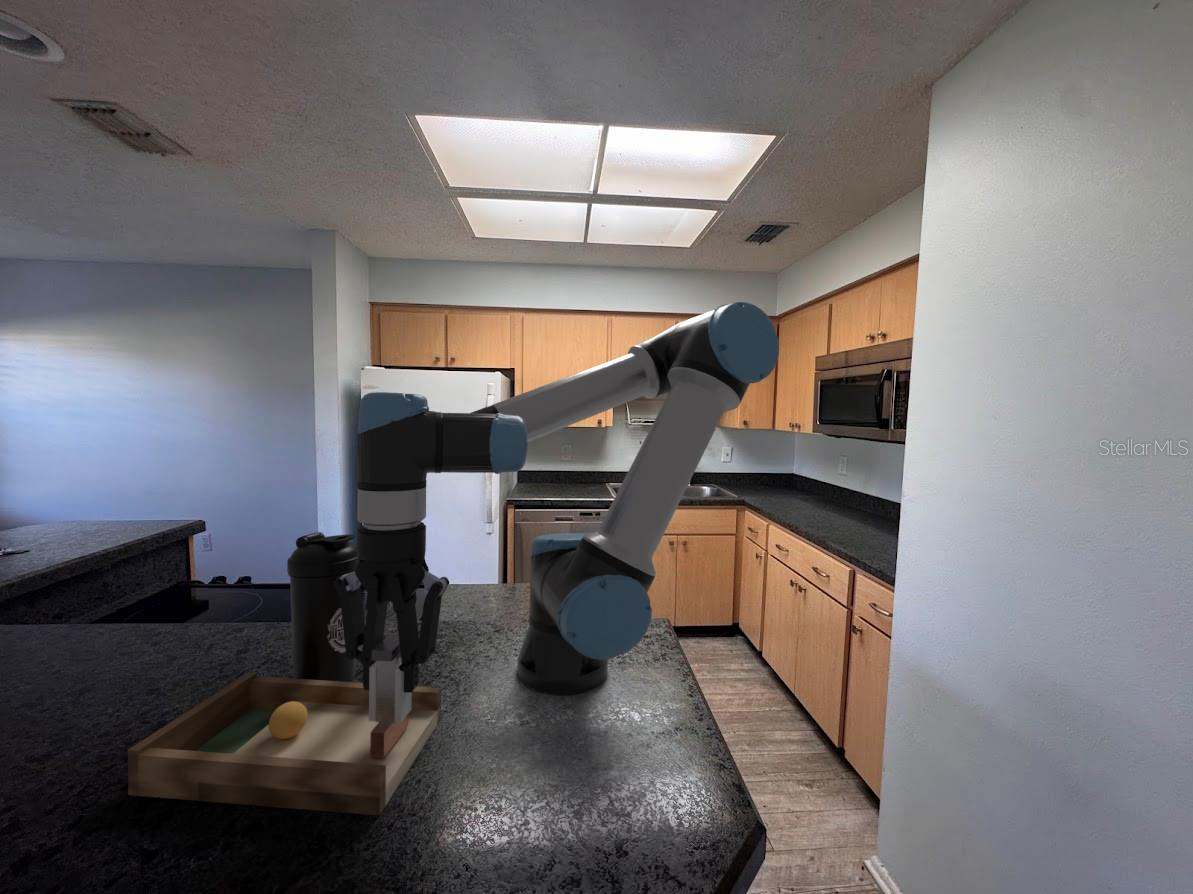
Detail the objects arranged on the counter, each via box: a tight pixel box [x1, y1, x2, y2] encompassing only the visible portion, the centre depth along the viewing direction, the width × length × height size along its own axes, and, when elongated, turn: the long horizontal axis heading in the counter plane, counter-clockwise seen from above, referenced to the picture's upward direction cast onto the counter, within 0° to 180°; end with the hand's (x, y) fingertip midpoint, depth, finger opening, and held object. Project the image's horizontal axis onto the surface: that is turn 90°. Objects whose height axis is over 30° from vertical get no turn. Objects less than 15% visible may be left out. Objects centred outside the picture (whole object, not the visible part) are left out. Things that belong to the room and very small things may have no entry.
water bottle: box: [286, 531, 359, 682], centre depth 73 cm, size 10×10×23 cm
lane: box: [127, 671, 442, 816], centre depth 57 cm, size 28×16×5 cm, turn 86°
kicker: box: [370, 633, 408, 759], centre depth 56 cm, size 2×6×12 cm, turn 176°
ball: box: [269, 701, 308, 739], centre depth 57 cm, size 4×4×4 cm
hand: (390, 714), depth 56 cm, fingers closed on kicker, 2 cm apart
